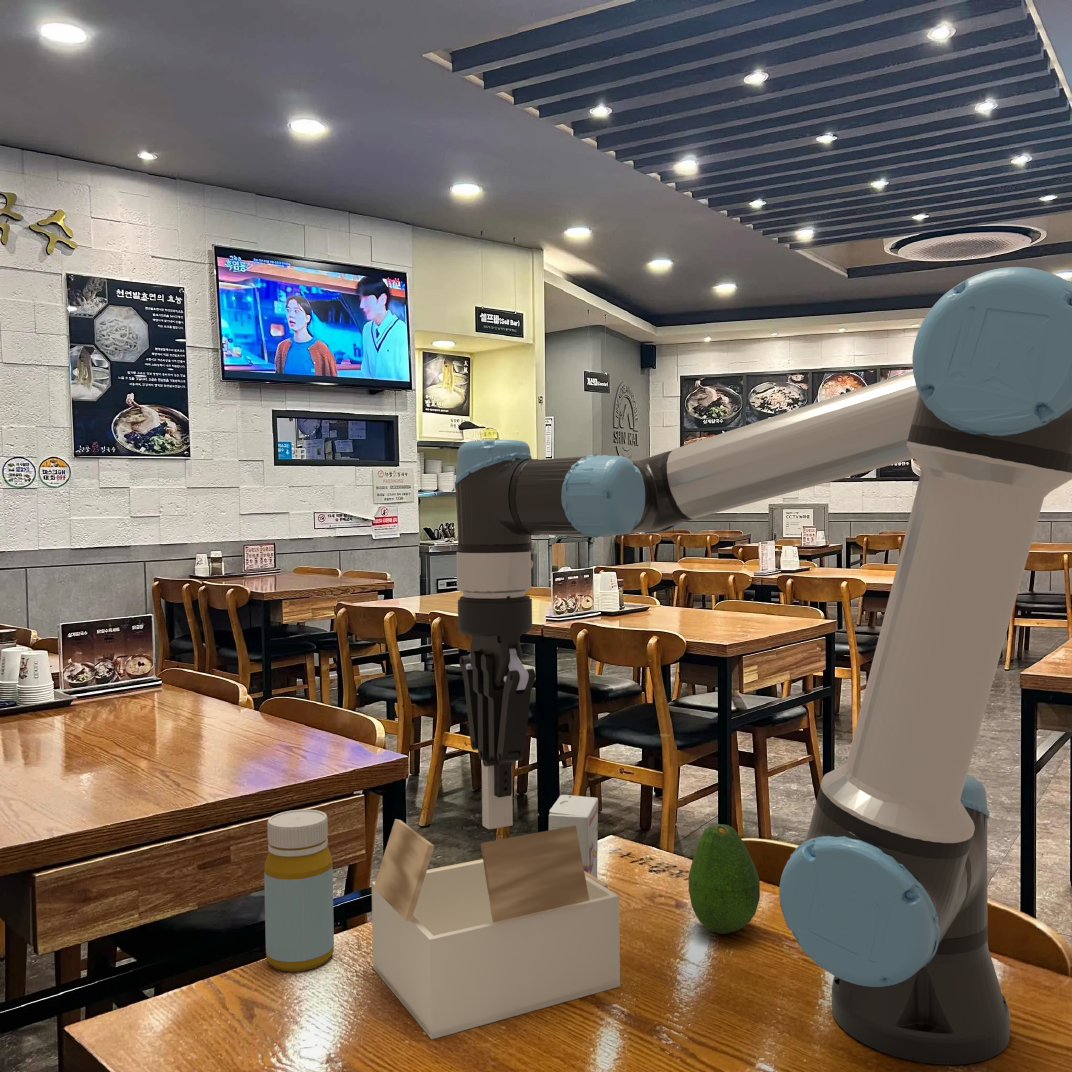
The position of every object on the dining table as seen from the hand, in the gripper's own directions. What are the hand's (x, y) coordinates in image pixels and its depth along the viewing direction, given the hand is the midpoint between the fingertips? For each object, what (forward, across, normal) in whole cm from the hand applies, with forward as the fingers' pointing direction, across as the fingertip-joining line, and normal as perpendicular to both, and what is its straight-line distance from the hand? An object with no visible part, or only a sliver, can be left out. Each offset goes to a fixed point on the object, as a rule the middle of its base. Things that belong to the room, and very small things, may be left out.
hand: (497, 825), depth 101 cm
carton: (+15, -1, +1) cm, 15 cm away
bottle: (+15, +13, +17) cm, 27 cm away
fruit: (+15, -4, -26) cm, 30 cm away
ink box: (+15, +12, -16) cm, 26 cm away
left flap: (+6, -1, +12) cm, 13 cm away
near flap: (+6, -9, 0) cm, 11 cm away
